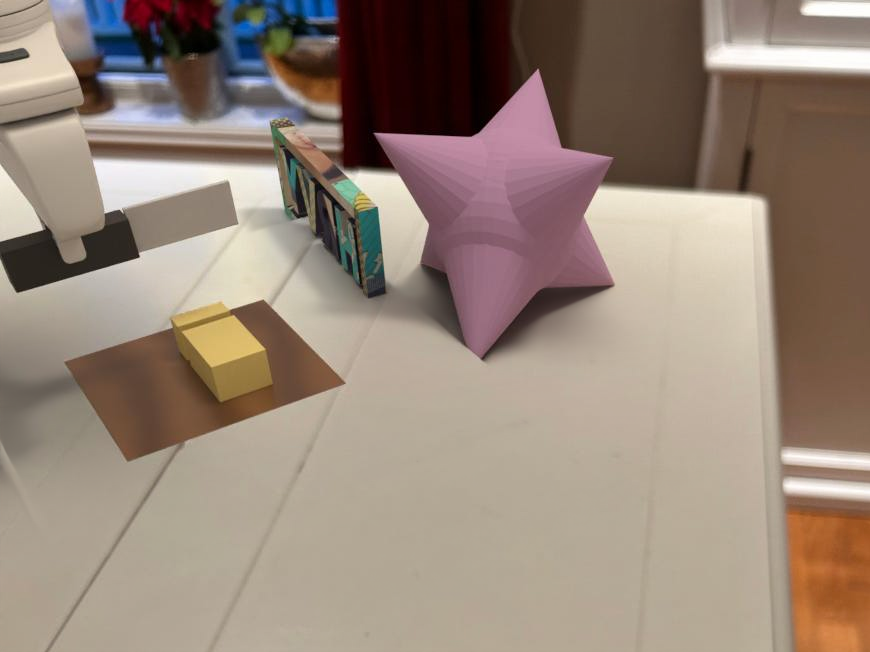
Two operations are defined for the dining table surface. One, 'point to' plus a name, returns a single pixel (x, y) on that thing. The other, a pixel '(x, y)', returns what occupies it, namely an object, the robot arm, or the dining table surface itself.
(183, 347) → the butter slice
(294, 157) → the decorative block
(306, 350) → the cutting board
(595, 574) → the dining table surface
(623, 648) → the dining table surface
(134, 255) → the knife
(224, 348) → the butter block
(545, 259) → the decorative object
